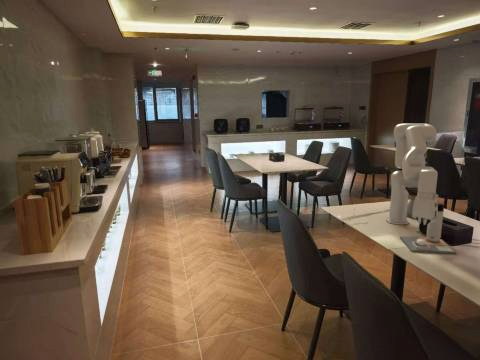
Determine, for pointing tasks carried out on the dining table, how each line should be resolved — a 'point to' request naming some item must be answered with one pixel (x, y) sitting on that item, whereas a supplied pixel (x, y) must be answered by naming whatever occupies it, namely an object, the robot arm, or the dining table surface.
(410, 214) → the coffee pot
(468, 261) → the dining table surface
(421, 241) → the button
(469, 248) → the dining table surface
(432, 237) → the travel mug
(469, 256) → the dining table surface
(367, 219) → the dining table surface
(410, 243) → the picture board
